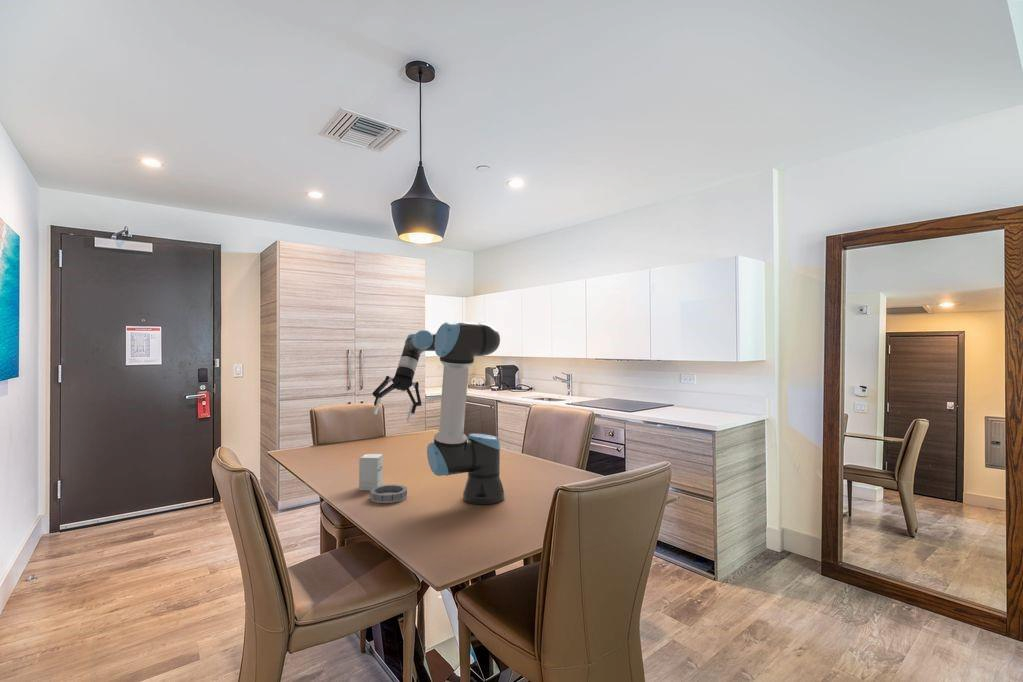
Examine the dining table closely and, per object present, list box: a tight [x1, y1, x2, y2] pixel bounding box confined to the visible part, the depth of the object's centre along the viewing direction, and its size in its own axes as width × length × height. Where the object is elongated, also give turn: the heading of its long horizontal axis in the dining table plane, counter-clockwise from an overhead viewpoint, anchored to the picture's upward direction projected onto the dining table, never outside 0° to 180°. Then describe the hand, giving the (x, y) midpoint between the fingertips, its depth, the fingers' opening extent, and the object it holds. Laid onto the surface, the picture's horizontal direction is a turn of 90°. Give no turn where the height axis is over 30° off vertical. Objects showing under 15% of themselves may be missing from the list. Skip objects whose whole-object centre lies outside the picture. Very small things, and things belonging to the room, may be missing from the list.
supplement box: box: [358, 453, 384, 491], centre depth 188 cm, size 7×7×13 cm
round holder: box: [369, 484, 408, 504], centre depth 176 cm, size 13×13×3 cm
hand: (391, 417), depth 192 cm, fingers open, 13 cm apart
